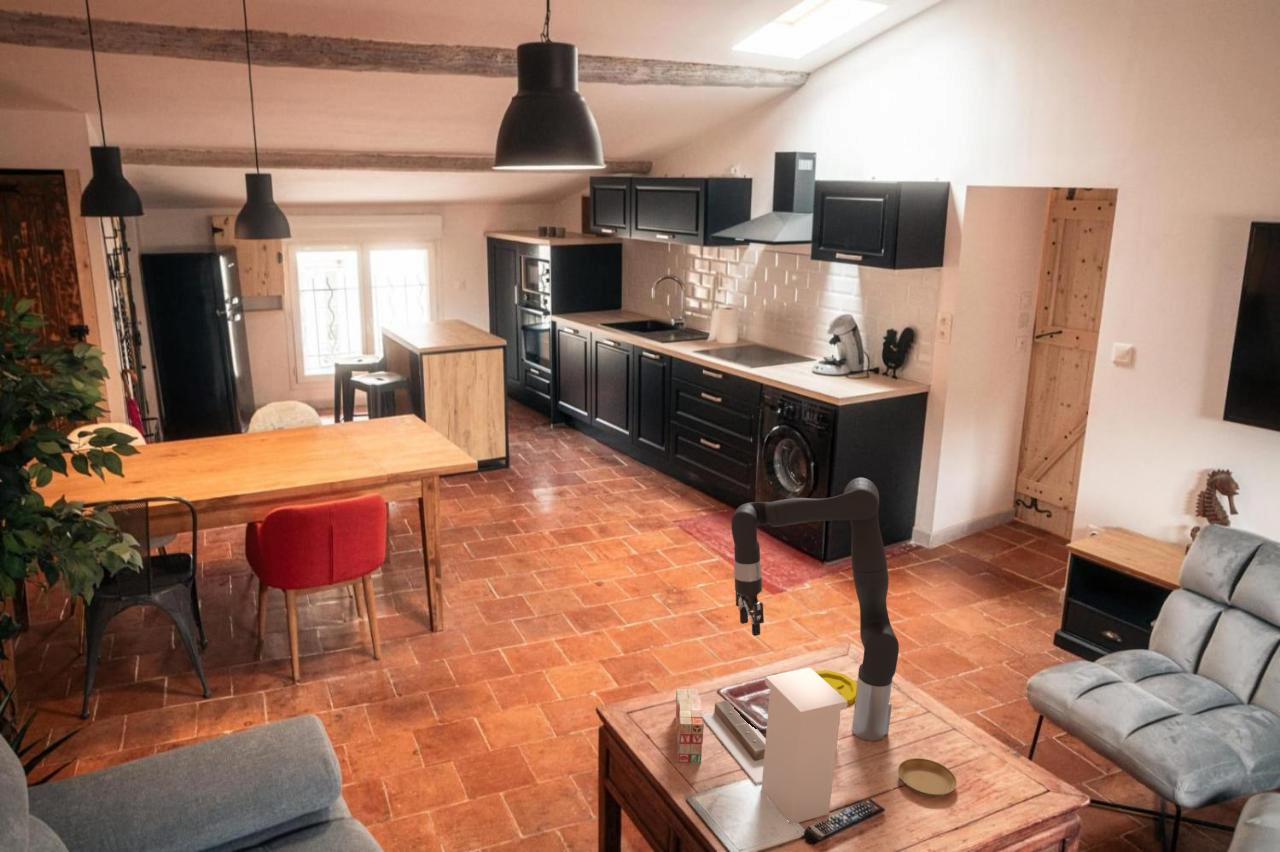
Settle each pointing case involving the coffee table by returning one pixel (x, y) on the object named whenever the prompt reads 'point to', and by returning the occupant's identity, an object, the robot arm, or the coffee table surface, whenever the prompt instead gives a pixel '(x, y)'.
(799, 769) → the tall stand
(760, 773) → the white mat
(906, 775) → the plant saucer
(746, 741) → the studded wooden bar
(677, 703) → the stack of blocks
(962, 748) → the coffee table surface
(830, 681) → the decorative disc
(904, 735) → the coffee table surface
